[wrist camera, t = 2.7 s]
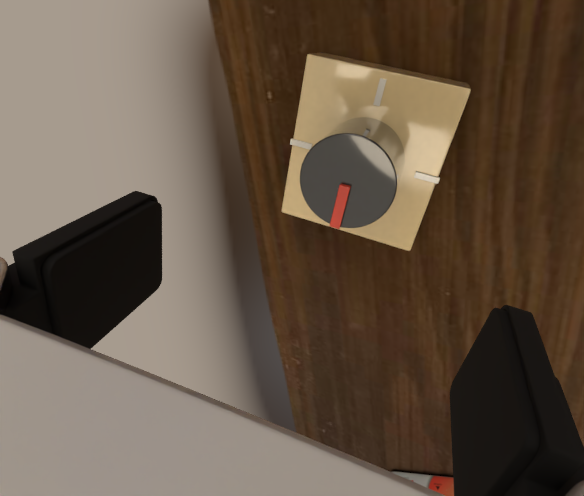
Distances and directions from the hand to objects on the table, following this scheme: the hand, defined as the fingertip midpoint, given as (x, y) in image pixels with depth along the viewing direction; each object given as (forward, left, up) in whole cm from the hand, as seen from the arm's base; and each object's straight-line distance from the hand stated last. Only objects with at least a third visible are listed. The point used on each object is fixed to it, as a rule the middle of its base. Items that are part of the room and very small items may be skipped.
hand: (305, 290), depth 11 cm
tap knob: (+1, -1, -15) cm, 15 cm away
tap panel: (+1, -1, -18) cm, 18 cm away
